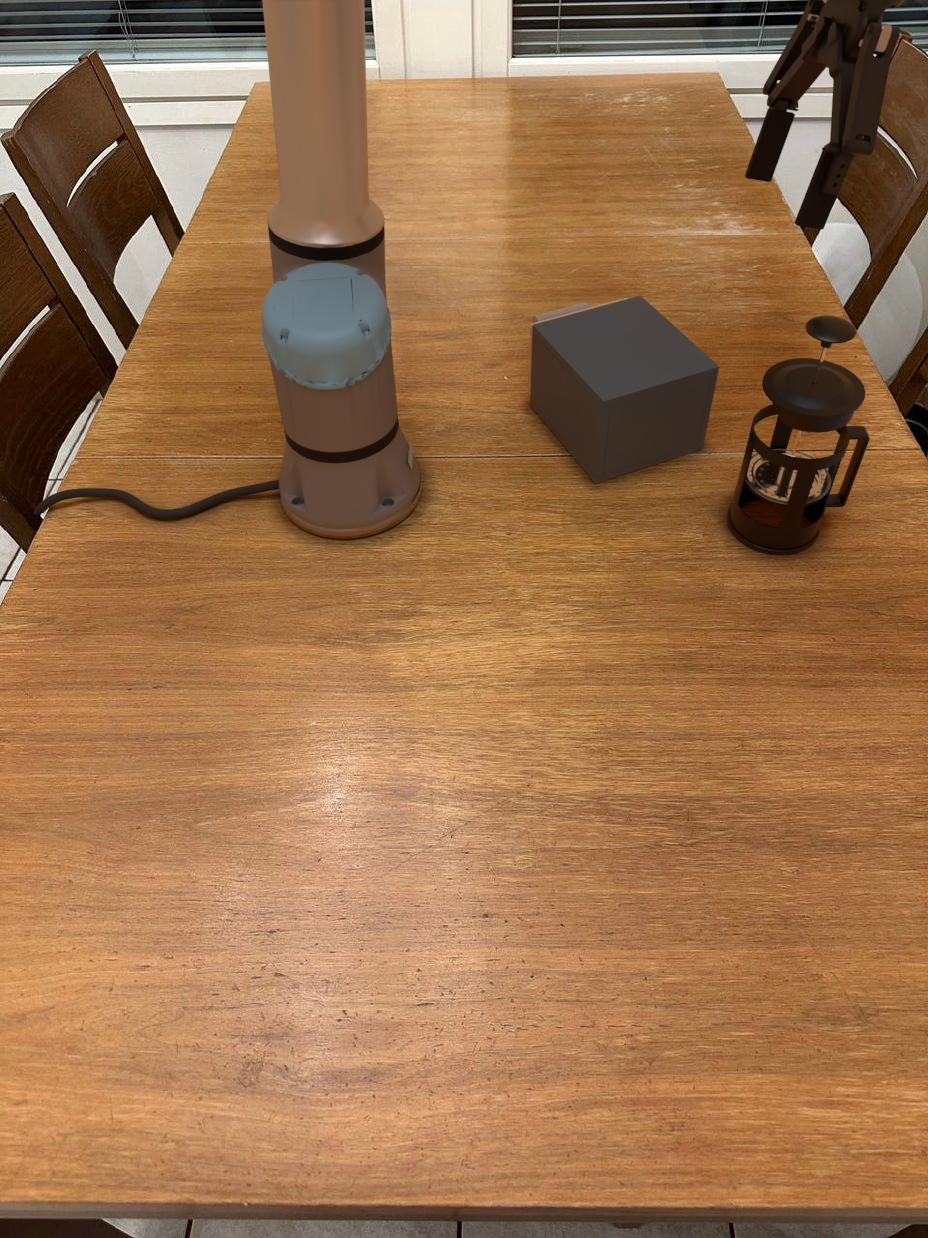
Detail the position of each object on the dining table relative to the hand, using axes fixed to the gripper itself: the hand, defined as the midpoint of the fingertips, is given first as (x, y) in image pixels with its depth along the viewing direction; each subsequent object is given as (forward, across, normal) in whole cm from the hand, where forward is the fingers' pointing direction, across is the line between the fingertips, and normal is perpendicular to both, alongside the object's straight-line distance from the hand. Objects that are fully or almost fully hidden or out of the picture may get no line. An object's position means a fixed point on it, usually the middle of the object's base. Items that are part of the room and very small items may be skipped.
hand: (781, 201), depth 94 cm
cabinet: (+27, 0, +10) cm, 28 cm away
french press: (+26, -18, -3) cm, 32 cm away
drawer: (+26, +5, +12) cm, 28 cm away
